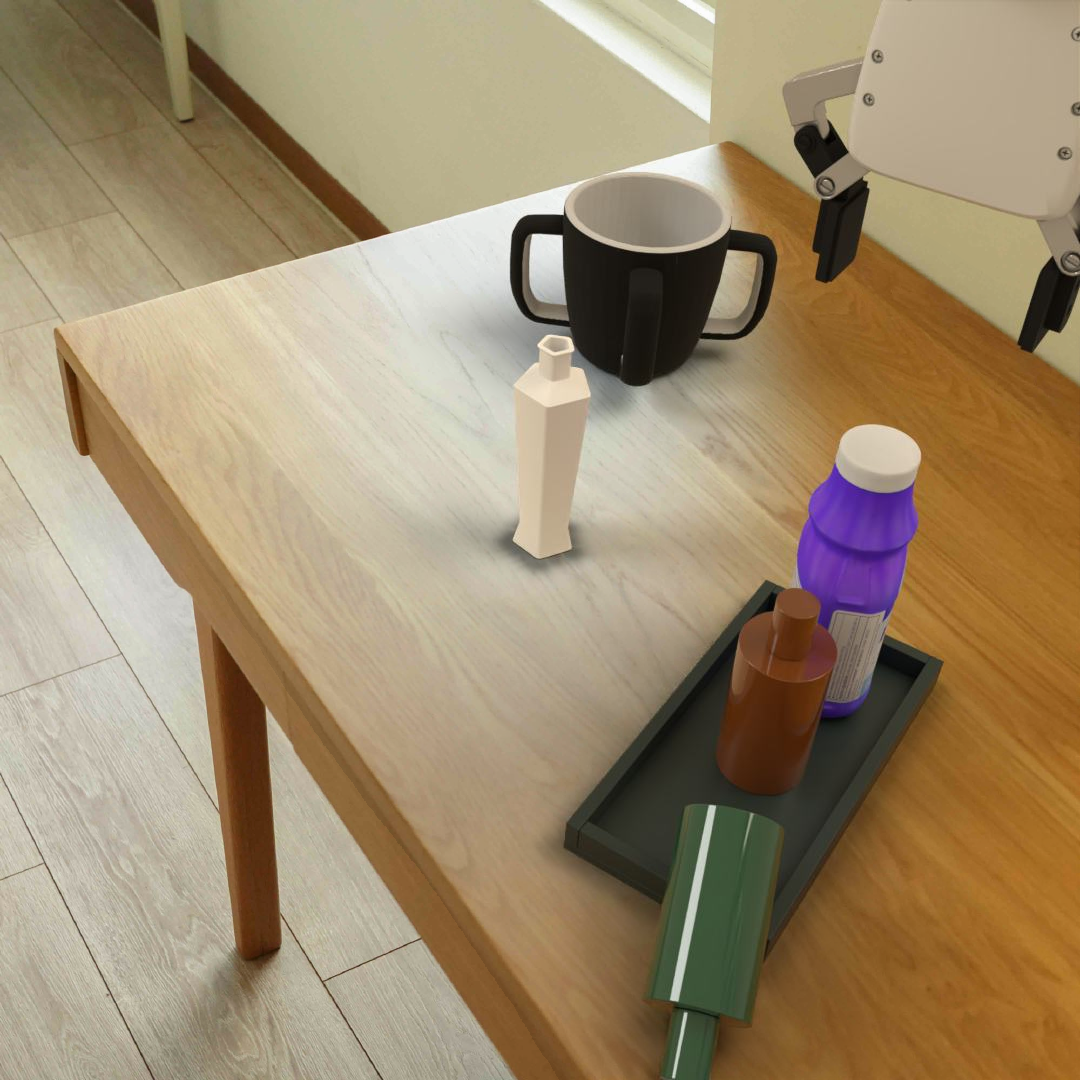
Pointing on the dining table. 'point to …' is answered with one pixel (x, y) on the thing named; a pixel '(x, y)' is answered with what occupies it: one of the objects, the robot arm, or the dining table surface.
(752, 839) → the green bottle
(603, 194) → the mug
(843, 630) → the bottle
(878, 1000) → the dining table surface
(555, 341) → the perfume bottle
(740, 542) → the dining table surface
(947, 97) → the robot arm
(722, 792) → the tray
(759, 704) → the middle bottle
